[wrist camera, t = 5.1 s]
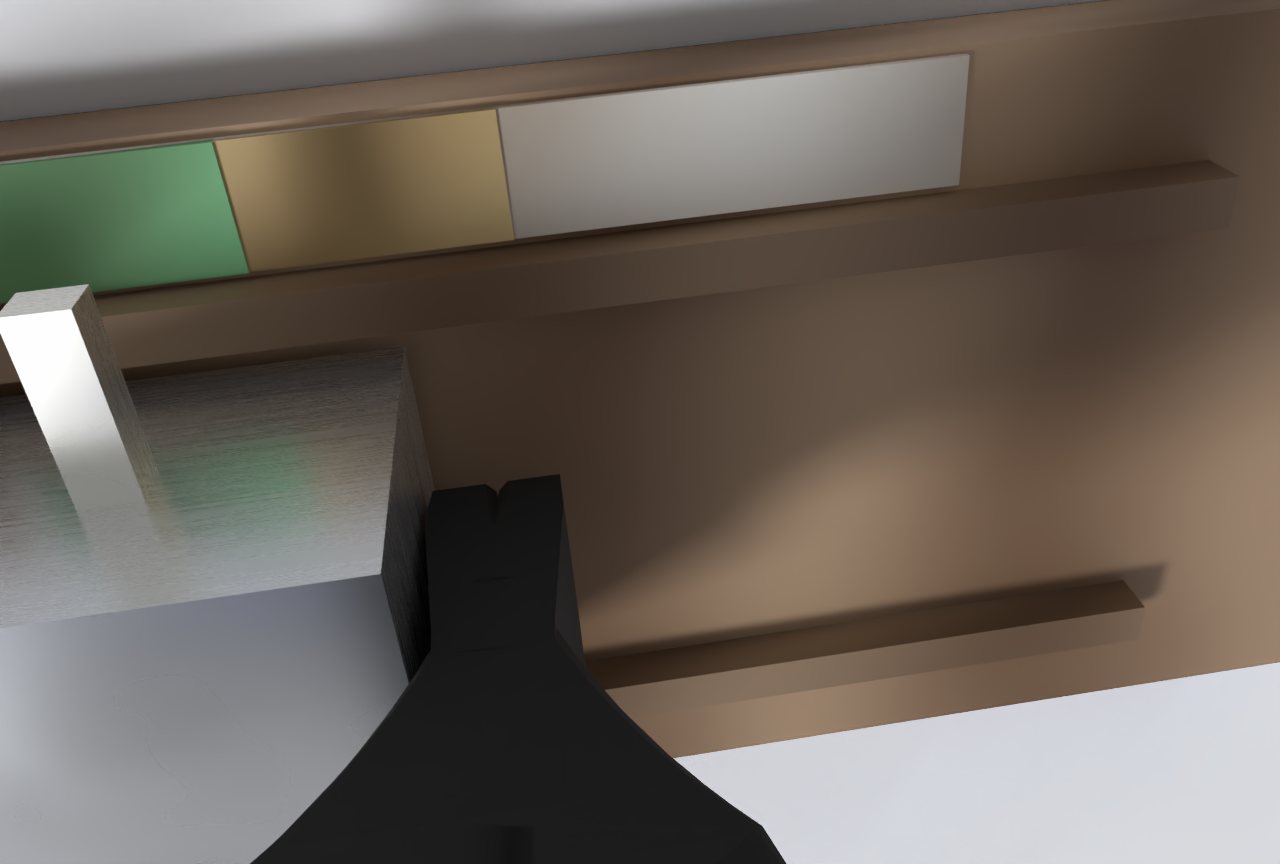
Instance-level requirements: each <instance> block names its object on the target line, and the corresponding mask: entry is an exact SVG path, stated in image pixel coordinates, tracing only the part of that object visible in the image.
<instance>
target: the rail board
mask: <svg viewBox="0 0 1280 864" xmlns="http://www.w3.org/2000/svg"><path fill="white" fill-rule="evenodd" d="M86 284H89V285H90V288H91V290H92V293H93V296H94V299H95V301H96V304H97V307H98V309H99V312H100V315H101V317H102V320H103V323H104V326H105V328H106V331H107V334H108V336H109V339H110V342H111V344H112V347H113V350H114V353H115V355H116V358H117V361H118V363H119V366H120V369H121V371H122V374H123V377H124V380H125V382H126V381H134V380H142V379H150V378H158V377H166V376H173V375H181V374H189V373H197V372H205V371H213V370H220V369H228V368H236V367H244V366H252V365H260V364H267V363H275V362H283V361H291V360H299V359H307V358H314V357H322V356H330V355H338V354H346V353H354V352H361V351H369V350H377V349H385V348H393V347H401V346H404V347H405V352H406V356H407V361H408V366H409V370H410V375H411V380H412V385H413V389H414V394H415V399H416V403H417V408H418V413H419V418H420V422H421V427H422V432H423V437H424V441H425V446H426V451H427V455H428V460H429V465H430V470H431V474H432V479H433V484H434V488H435V491H436V490H443V489H451V488H458V487H466V486H473V485H481V484H487V485H488V486H490V487H491V488H493V489H494V490H495V491H497V496H498V494H499V490H500V489H501V488H502V487H503V486H504V484H505V483H506V482H507V481H511V480H518V479H526V478H533V477H541V476H548V475H556V474H560V479H561V486H562V494H563V501H564V508H565V516H566V523H567V531H568V538H569V545H570V553H571V560H572V567H573V575H574V582H575V590H576V597H577V604H578V612H579V620H580V628H581V635H582V643H583V651H584V659H585V667H586V669H587V670H588V671H589V672H590V673H591V675H592V676H593V677H594V678H595V680H596V681H597V682H598V683H599V684H600V685H601V687H602V688H603V689H604V690H605V691H606V692H607V693H608V694H609V696H610V697H611V698H612V699H613V700H614V701H615V702H616V703H617V705H618V706H619V707H620V708H621V709H622V710H623V711H624V712H625V713H626V714H627V715H628V716H629V717H630V718H631V719H632V720H633V721H634V722H635V723H636V724H637V725H638V726H639V727H640V728H641V729H643V730H644V731H645V732H646V733H647V734H648V735H649V736H650V737H651V738H652V739H653V740H654V741H655V742H656V743H657V744H658V745H659V746H660V747H661V748H662V749H663V750H664V751H665V752H666V753H667V754H669V755H670V756H671V757H672V758H677V757H684V756H690V755H696V754H703V753H709V752H715V751H721V750H728V749H734V748H740V747H747V746H753V745H759V744H766V743H772V742H778V741H785V740H791V739H797V738H804V737H810V736H816V735H822V734H829V733H835V732H841V731H848V730H854V729H860V728H867V727H873V726H879V725H886V724H892V723H898V722H905V721H911V720H917V719H924V718H930V717H936V716H942V715H949V714H955V713H961V712H968V711H974V710H980V709H987V708H993V707H999V706H1006V705H1012V704H1018V703H1025V702H1031V701H1037V700H1043V699H1050V698H1056V697H1062V696H1069V695H1075V694H1081V693H1088V692H1094V691H1100V690H1107V689H1113V688H1119V687H1126V686H1132V685H1138V684H1145V683H1151V682H1157V681H1163V680H1170V679H1176V678H1182V677H1189V676H1195V675H1201V674H1208V673H1214V672H1220V671H1227V670H1233V669H1239V668H1246V667H1252V666H1258V665H1265V664H1271V663H1277V662H1280V0H1107V1H1098V2H1089V3H1080V4H1071V5H1061V6H1052V7H1043V8H1034V9H1025V10H1016V11H1007V12H998V13H988V14H979V15H970V16H961V17H952V18H943V19H934V20H925V21H915V22H906V23H897V24H888V25H879V26H870V27H861V28H852V29H842V30H833V31H824V32H815V33H806V34H797V35H788V36H778V37H769V38H760V39H751V40H742V41H733V42H724V43H715V44H705V45H696V46H687V47H678V48H669V49H660V50H651V51H642V52H632V53H623V54H614V55H605V56H596V57H587V58H578V59H568V60H559V61H550V62H541V63H532V64H523V65H514V66H505V67H495V68H486V69H477V70H468V71H459V72H450V73H441V74H432V75H422V76H413V77H404V78H395V79H386V80H377V81H368V82H359V83H349V84H340V85H331V86H322V87H313V88H304V89H295V90H285V91H276V92H267V93H258V94H249V95H240V96H231V97H222V98H212V99H203V100H194V101H185V102H176V103H167V104H158V105H149V106H139V107H130V108H121V109H112V110H103V111H94V112H85V113H75V114H66V115H57V116H48V117H39V118H30V119H21V120H12V121H2V122H0V311H1V310H2V309H3V308H4V306H5V305H6V304H7V303H8V302H9V300H10V299H11V298H12V297H13V296H14V294H15V293H19V292H28V291H36V290H44V289H53V288H61V287H69V286H77V285H86ZM25 394H26V392H25V389H24V387H23V385H22V382H21V380H20V378H19V375H18V373H17V371H16V368H15V366H14V364H13V361H12V359H11V357H10V354H9V352H8V350H7V347H6V345H5V343H4V340H3V338H2V336H1V333H0V398H1V397H9V396H17V395H25Z"/></svg>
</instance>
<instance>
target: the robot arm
mask: <svg viewBox="0 0 1280 864" xmlns="http://www.w3.org/2000/svg"><path fill="white" fill-rule="evenodd" d="M425 536H426V554H427V572H428V588H429V605H430V622H431V650H430V651H429V653H428V655H427V656H426V658H425V660H424V661H423V663H422V664H421V666H420V668H419V669H418V671H417V672H416V674H415V675H414V677H413V678H412V680H411V682H410V683H409V684H408V686H407V687H406V689H405V690H404V692H403V693H402V695H401V696H400V698H399V699H398V700H397V702H396V703H395V705H394V706H393V708H392V709H391V710H390V712H389V713H388V714H387V716H386V717H385V718H384V720H383V721H382V722H381V723H380V725H379V726H378V727H377V729H376V730H375V731H374V732H373V734H372V735H371V736H370V738H369V739H368V740H367V741H366V743H365V744H364V745H363V747H362V748H361V749H360V750H359V752H358V753H357V754H356V755H355V756H354V758H353V759H352V760H351V761H350V762H349V764H348V765H347V766H346V767H345V768H344V769H343V771H342V772H341V773H340V774H339V775H338V776H337V778H336V779H335V780H334V781H333V782H332V783H331V784H330V785H329V786H328V787H327V788H326V789H325V790H324V791H323V792H322V793H321V794H320V796H319V797H318V798H317V799H316V800H315V801H314V802H313V803H312V804H311V805H310V806H309V807H308V808H307V809H306V810H305V811H304V812H303V813H302V814H301V815H300V817H299V818H298V819H297V820H296V821H295V822H294V823H293V824H292V825H291V826H290V827H289V828H288V829H287V830H286V831H285V832H284V833H283V834H282V835H281V836H280V837H279V838H278V839H277V840H276V841H275V842H274V843H273V844H272V845H271V846H269V847H268V848H267V849H266V850H265V851H264V852H263V853H262V854H260V855H259V856H258V857H257V858H256V859H255V860H253V861H252V862H251V863H250V864H786V862H785V861H784V859H783V858H782V856H781V855H780V853H779V851H778V850H777V848H776V847H775V845H774V844H773V842H772V841H771V839H770V837H769V836H768V834H767V833H766V831H765V830H764V828H763V827H762V826H761V825H760V824H758V823H757V822H756V821H754V820H753V819H751V818H750V817H748V816H747V815H745V814H744V813H743V812H741V811H740V810H738V809H737V808H735V807H734V806H732V805H731V804H730V803H728V802H727V801H726V800H724V799H723V798H722V797H720V796H719V795H718V794H716V793H715V792H714V791H712V790H711V789H710V788H708V787H707V786H706V785H704V784H703V783H702V782H701V781H700V780H698V779H697V778H696V777H695V776H694V775H692V774H691V773H690V772H689V771H688V770H686V769H685V768H684V767H683V766H682V765H680V764H679V763H678V762H677V761H676V760H674V759H673V758H672V757H671V756H670V755H669V754H667V753H666V752H665V751H664V750H663V749H662V748H661V747H660V746H659V745H658V744H657V743H656V742H655V741H654V740H653V739H652V738H651V737H650V736H649V735H648V734H647V733H646V732H645V731H644V730H643V729H641V728H640V727H639V726H638V725H637V724H636V723H635V722H634V721H633V720H632V719H631V718H630V717H629V716H628V715H627V714H626V713H625V712H624V711H623V710H622V709H621V708H620V707H619V706H618V705H617V703H616V702H615V701H614V700H613V699H612V698H611V697H610V696H609V694H608V693H607V692H606V691H605V690H604V689H603V688H602V687H601V685H600V684H599V683H598V682H597V681H596V680H595V678H594V677H593V676H592V675H591V673H590V672H589V671H588V670H587V669H586V667H585V659H584V651H583V643H582V635H581V628H580V620H579V612H578V604H577V597H576V590H575V582H574V575H573V567H572V560H571V553H570V545H569V538H568V531H567V523H566V516H565V508H564V501H563V494H562V486H561V479H560V474H556V475H548V476H541V477H533V478H526V479H518V480H511V481H507V482H506V483H505V484H504V486H503V487H502V488H501V489H500V490H499V494H498V496H497V491H495V490H494V489H493V488H491V487H490V486H488V485H487V484H481V485H473V486H466V487H458V488H451V489H443V490H436V491H432V495H431V498H430V502H429V506H428V511H427V516H426V521H425Z"/></svg>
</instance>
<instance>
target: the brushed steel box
mask: <svg viewBox="0 0 1280 864" xmlns="http://www.w3.org/2000/svg"><path fill="white" fill-rule="evenodd" d="M0 333H1V336H2V338H3V340H4V343H5V345H6V347H7V350H8V352H9V354H10V357H11V359H12V361H13V364H14V366H15V368H16V371H17V373H18V375H19V378H20V380H21V382H22V385H23V387H24V389H25V392H26V394H25V395H17V396H9V397H1V398H0V864H250V863H251V862H252V861H253V860H255V859H256V858H257V857H258V856H259V855H260V854H262V853H263V852H264V851H265V850H266V849H267V848H268V847H269V846H271V845H272V844H273V843H274V842H275V841H276V840H277V839H278V838H279V837H280V836H281V835H282V834H283V833H284V832H285V831H286V830H287V829H288V828H289V827H290V826H291V825H292V824H293V823H294V822H295V821H296V820H297V819H298V818H299V817H300V815H301V814H302V813H303V812H304V811H305V810H306V809H307V808H308V807H309V806H310V805H311V804H312V803H313V802H314V801H315V800H316V799H317V798H318V797H319V796H320V794H321V793H322V792H323V791H324V790H325V789H326V788H327V787H328V786H329V785H330V784H331V783H332V782H333V781H334V780H335V779H336V778H337V776H338V775H339V774H340V773H341V772H342V771H343V769H344V768H345V767H346V766H347V765H348V764H349V762H350V761H351V760H352V759H353V758H354V756H355V755H356V754H357V753H358V752H359V750H360V749H361V748H362V747H363V745H364V744H365V743H366V741H367V740H368V739H369V738H370V736H371V735H372V734H373V732H374V731H375V730H376V729H377V727H378V726H379V725H380V723H381V722H382V721H383V720H384V718H385V717H386V716H387V714H388V713H389V712H390V710H391V709H392V708H393V706H394V705H395V703H396V702H397V700H398V699H399V698H400V696H401V695H402V693H403V692H404V690H405V689H406V687H407V686H408V684H409V683H410V682H411V680H412V678H413V677H414V675H415V674H416V672H417V671H418V669H419V668H420V666H421V664H422V663H423V661H424V660H425V658H426V656H427V655H428V653H429V651H430V650H431V622H430V605H429V588H428V572H427V554H426V536H425V521H426V516H427V511H428V506H429V502H430V498H431V495H432V491H435V488H434V484H433V479H432V474H431V470H430V465H429V460H428V455H427V451H426V446H425V441H424V437H423V432H422V427H421V422H420V418H419V413H418V408H417V403H416V399H415V394H414V389H413V385H412V380H411V375H410V370H409V366H408V361H407V356H406V352H405V347H404V346H401V347H393V348H385V349H377V350H369V351H361V352H354V353H346V354H338V355H330V356H322V357H314V358H307V359H299V360H291V361H283V362H275V363H267V364H260V365H252V366H244V367H236V368H228V369H220V370H213V371H205V372H197V373H189V374H181V375H173V376H166V377H158V378H150V379H142V380H134V381H126V382H125V380H124V377H123V374H122V371H121V369H120V366H119V363H118V361H117V358H116V355H115V353H114V350H113V347H112V344H111V342H110V339H109V336H108V334H107V331H106V328H105V326H104V323H103V320H102V317H101V315H100V312H99V309H98V307H97V304H96V301H95V299H94V296H93V293H92V290H91V288H90V285H89V284H86V285H77V286H69V287H61V288H53V289H44V290H36V291H28V292H19V293H15V294H14V296H13V297H12V298H11V299H10V300H9V302H8V303H7V304H6V305H5V306H4V308H3V309H2V310H1V311H0Z"/></svg>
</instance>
